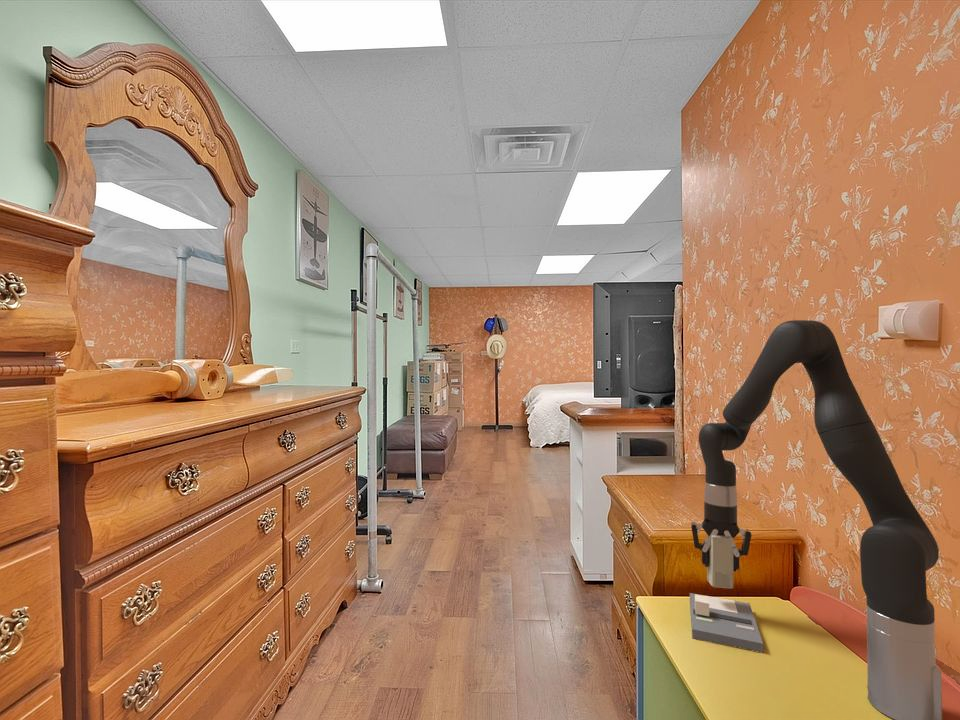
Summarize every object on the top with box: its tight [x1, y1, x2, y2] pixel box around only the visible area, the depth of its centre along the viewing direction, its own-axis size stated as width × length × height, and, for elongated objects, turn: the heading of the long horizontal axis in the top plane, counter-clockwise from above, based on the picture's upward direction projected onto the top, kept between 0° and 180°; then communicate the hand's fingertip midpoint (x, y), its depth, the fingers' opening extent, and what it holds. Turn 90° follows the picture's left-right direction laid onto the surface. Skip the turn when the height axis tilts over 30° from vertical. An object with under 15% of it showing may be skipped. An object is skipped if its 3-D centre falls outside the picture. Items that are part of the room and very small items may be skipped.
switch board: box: [689, 592, 764, 654], centre depth 113 cm, size 14×20×2 cm
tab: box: [694, 593, 709, 616], centre depth 114 cm, size 3×4×3 cm
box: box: [706, 534, 735, 589], centre depth 119 cm, size 5×4×13 cm
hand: (720, 567), depth 119 cm, fingers closed on box, 5 cm apart
